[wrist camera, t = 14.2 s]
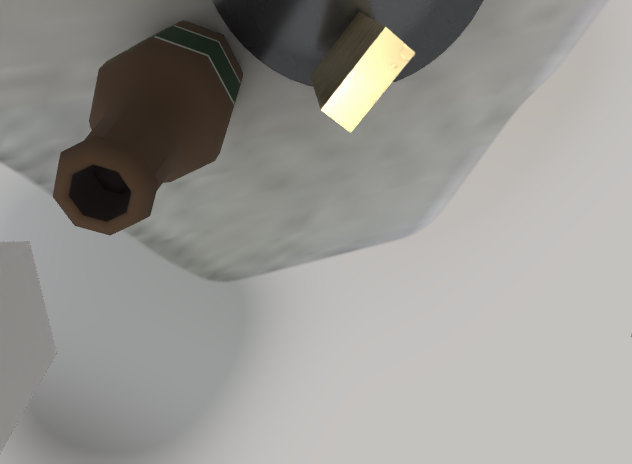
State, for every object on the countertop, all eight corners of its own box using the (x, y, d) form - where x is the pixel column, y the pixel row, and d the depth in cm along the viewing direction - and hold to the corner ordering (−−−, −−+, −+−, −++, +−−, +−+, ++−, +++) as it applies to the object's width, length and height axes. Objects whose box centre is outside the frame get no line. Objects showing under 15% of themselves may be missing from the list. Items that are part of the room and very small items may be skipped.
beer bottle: (265, 70, 41) (253, 185, 19) (202, 144, 43) (128, 322, 22) (181, -6, 38) (60, 31, 17) (118, 78, 41) (-60, 205, 19)
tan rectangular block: (358, 11, 38) (385, 26, 29) (382, 32, 39) (415, 52, 30) (310, 76, 40) (320, 109, 31) (333, 94, 41) (350, 132, 31)
